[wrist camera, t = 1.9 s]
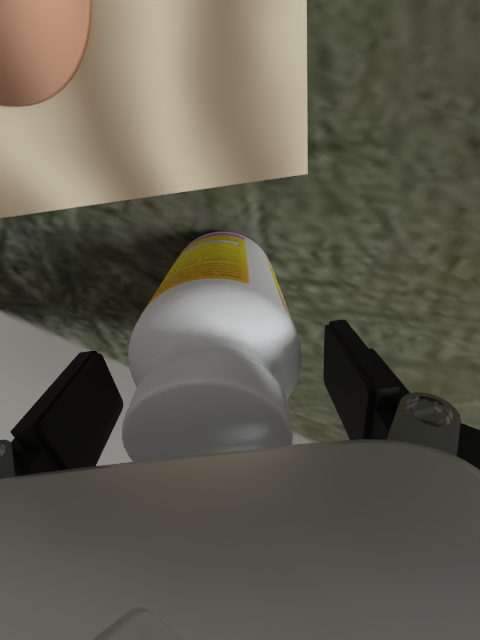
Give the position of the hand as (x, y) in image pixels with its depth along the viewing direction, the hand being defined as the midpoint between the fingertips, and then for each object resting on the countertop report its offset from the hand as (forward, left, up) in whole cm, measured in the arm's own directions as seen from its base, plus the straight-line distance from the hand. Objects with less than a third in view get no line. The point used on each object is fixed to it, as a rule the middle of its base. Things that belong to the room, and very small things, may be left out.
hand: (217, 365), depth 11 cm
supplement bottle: (0, -1, -9) cm, 9 cm away
